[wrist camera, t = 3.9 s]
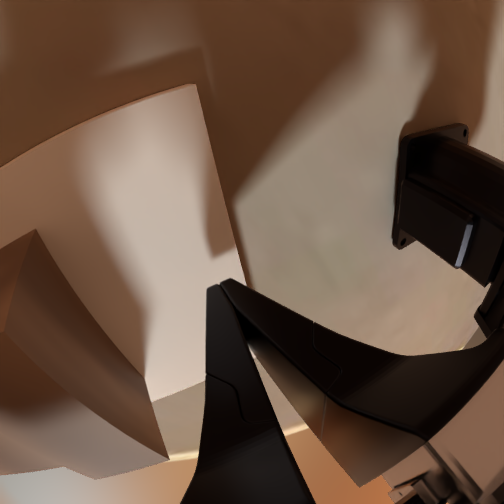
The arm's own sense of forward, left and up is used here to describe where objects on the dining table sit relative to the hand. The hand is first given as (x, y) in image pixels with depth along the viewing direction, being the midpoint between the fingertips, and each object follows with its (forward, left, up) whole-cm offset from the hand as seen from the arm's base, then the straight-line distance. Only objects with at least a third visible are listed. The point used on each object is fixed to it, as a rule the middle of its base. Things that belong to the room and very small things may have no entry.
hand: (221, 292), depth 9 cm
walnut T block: (+8, 0, -1) cm, 8 cm away
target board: (+8, 0, -2) cm, 8 cm away
